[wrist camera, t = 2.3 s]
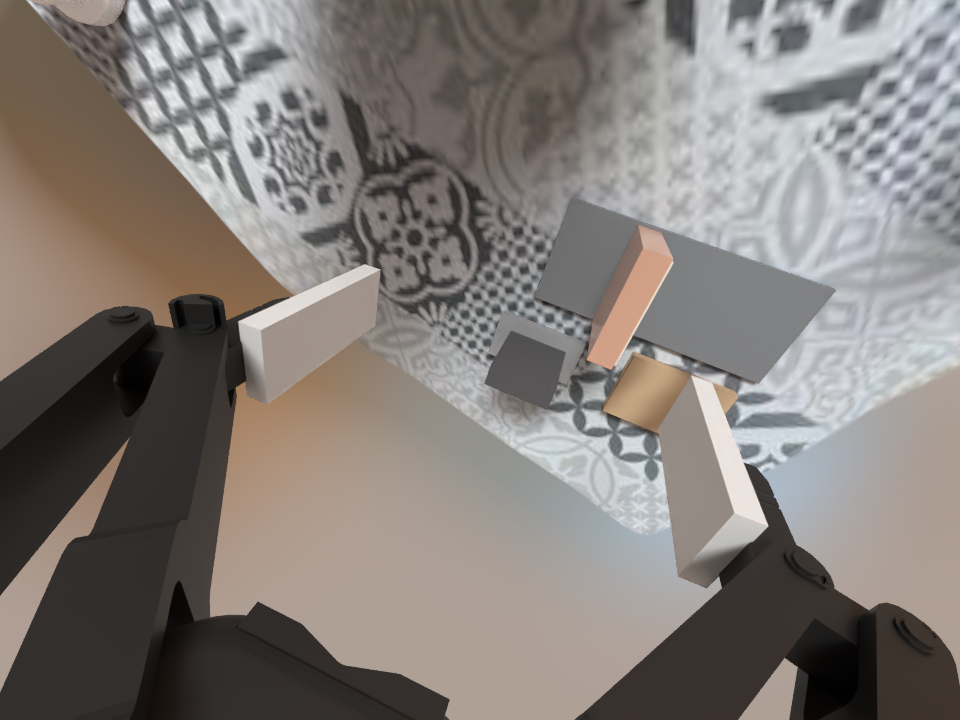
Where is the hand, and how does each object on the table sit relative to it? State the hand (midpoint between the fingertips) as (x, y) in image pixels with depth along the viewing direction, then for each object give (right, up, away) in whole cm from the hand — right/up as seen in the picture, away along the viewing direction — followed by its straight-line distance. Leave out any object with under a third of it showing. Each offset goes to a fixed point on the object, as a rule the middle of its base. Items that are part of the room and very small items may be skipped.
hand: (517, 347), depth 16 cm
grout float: (+4, +1, +25) cm, 26 cm away
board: (+17, -4, +24) cm, 30 cm away
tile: (+12, +7, +19) cm, 23 cm away
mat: (+15, +6, +19) cm, 25 cm away
